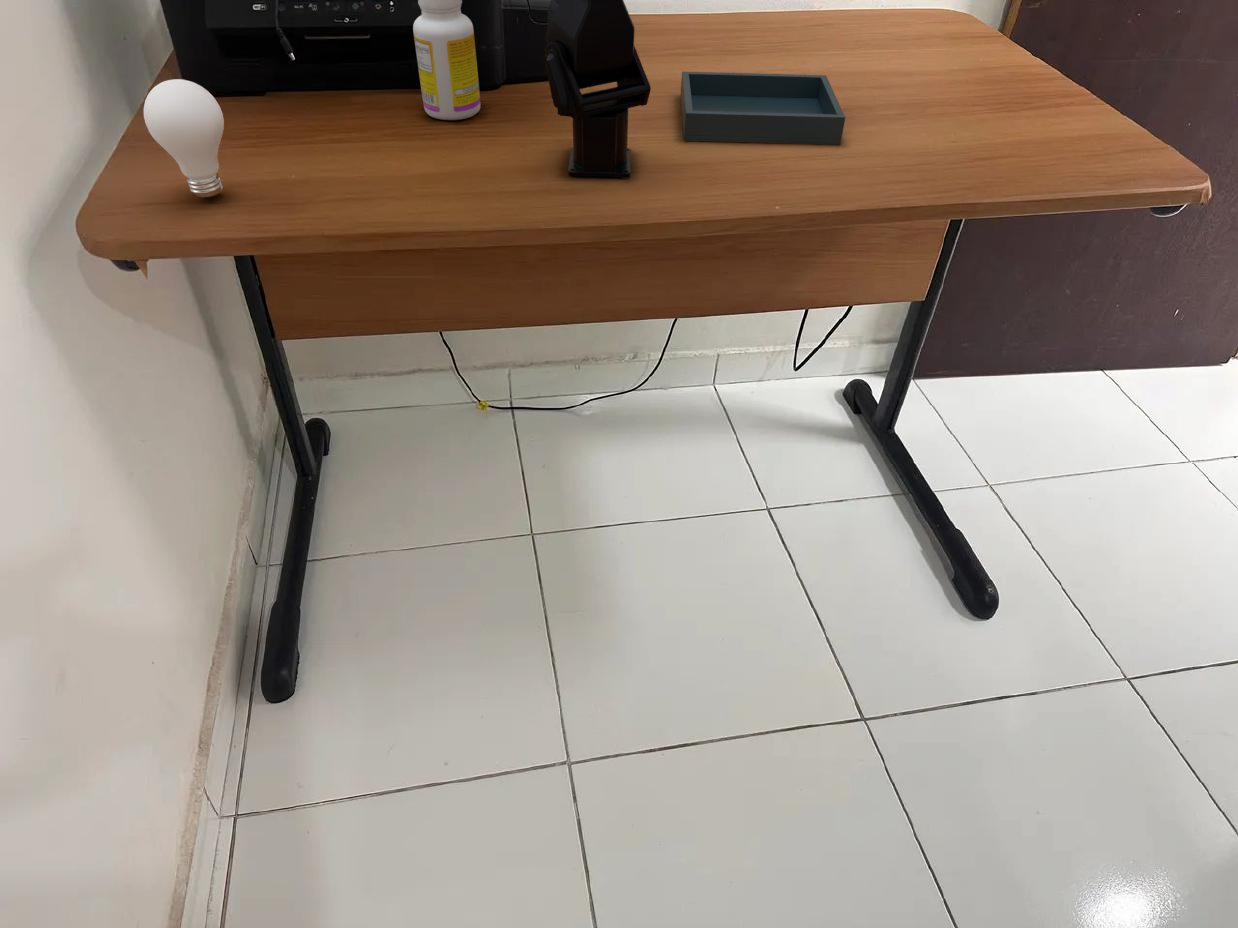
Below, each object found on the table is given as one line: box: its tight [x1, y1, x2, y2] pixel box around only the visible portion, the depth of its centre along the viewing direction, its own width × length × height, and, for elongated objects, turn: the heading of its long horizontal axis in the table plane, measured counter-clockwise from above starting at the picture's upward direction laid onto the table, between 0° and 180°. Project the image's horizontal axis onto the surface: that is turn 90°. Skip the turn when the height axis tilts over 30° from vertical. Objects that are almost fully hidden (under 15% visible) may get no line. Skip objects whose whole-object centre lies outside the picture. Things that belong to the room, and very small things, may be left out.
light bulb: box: [143, 78, 225, 199], centre depth 81 cm, size 7×7×11 cm
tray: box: [679, 70, 846, 146], centre depth 101 cm, size 14×18×3 cm
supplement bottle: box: [412, 0, 482, 121], centre depth 98 cm, size 7×7×13 cm
